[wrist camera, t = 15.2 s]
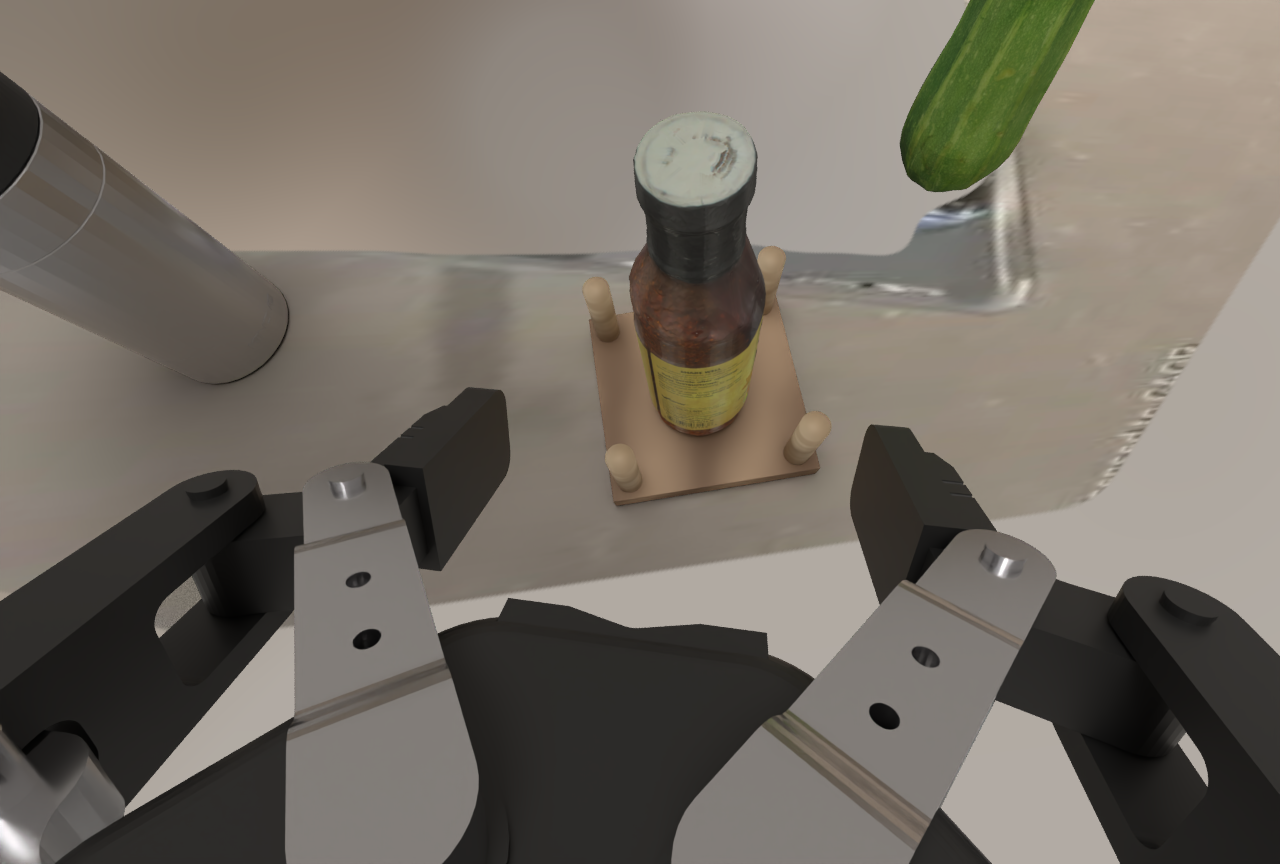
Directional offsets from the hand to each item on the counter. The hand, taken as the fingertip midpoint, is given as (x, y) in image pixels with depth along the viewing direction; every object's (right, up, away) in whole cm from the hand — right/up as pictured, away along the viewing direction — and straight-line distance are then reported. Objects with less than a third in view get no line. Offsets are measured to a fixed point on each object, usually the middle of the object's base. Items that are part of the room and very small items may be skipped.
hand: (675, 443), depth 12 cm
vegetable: (+22, +20, +30) cm, 42 cm away
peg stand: (+3, +3, +26) cm, 26 cm away
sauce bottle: (+3, +3, +24) cm, 25 cm away
